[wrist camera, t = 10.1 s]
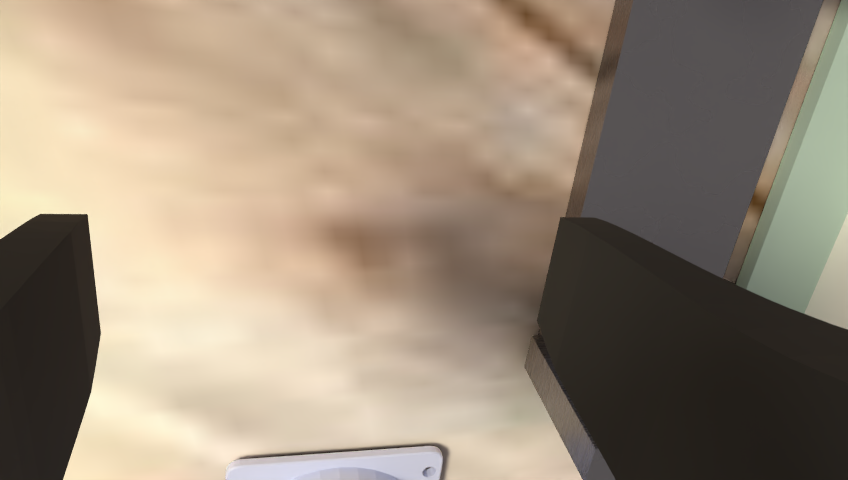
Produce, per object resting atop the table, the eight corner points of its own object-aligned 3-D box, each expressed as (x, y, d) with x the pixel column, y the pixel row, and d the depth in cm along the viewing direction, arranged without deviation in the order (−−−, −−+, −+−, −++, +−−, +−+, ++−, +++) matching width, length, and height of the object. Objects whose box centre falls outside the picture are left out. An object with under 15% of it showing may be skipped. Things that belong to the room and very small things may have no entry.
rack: (684, 363, 29) (778, 479, 24) (517, 371, 27) (580, 497, 22) (860, -133, 21) (1061, -118, 16) (636, -166, 19) (780, -160, 14)
